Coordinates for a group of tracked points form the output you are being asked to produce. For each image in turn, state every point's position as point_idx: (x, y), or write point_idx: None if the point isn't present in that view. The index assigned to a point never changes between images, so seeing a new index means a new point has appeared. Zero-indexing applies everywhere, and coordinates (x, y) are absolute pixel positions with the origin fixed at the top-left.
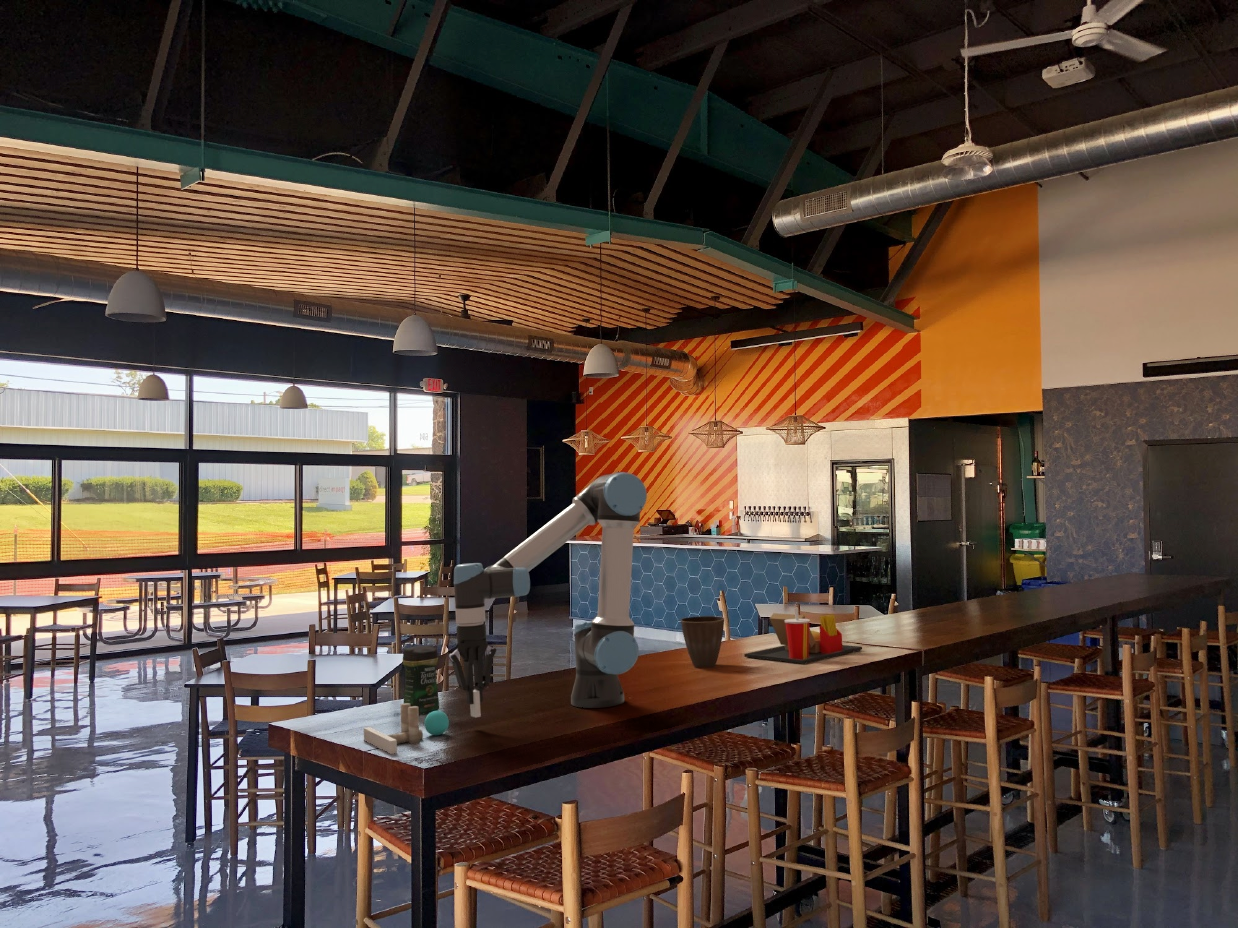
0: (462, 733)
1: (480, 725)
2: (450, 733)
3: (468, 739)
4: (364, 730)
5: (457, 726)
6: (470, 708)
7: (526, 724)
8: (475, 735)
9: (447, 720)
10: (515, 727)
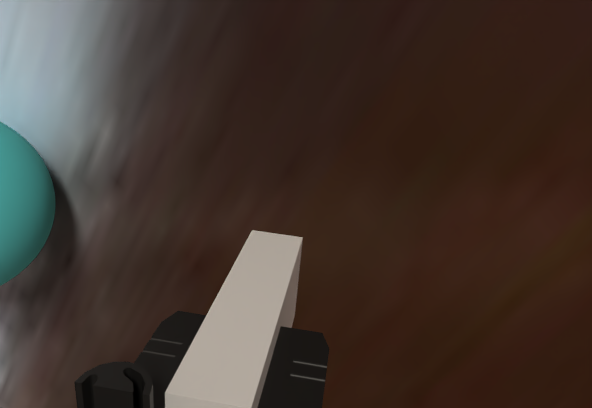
0: (157, 267)
1: (363, 177)
2: (97, 206)
3: None
4: None
5: (224, 57)
6: (234, 264)
7: (577, 399)
8: None
9: (5, 281)
10: (473, 401)
